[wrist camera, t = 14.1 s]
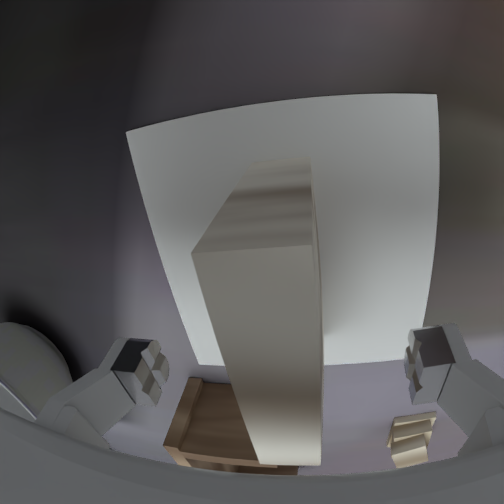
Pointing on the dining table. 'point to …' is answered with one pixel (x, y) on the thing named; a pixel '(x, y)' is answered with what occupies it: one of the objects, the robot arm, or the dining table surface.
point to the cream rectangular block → (269, 307)
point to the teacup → (29, 370)
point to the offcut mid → (412, 431)
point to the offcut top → (409, 451)
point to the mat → (326, 201)
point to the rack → (214, 433)
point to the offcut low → (410, 421)
